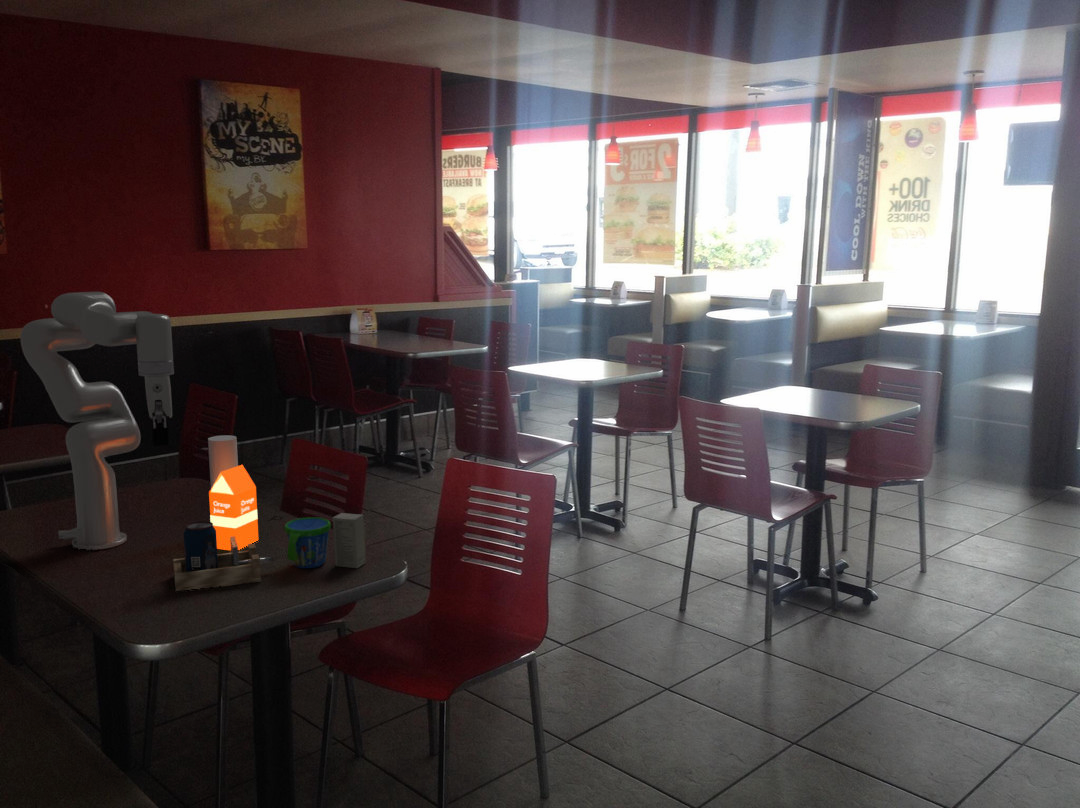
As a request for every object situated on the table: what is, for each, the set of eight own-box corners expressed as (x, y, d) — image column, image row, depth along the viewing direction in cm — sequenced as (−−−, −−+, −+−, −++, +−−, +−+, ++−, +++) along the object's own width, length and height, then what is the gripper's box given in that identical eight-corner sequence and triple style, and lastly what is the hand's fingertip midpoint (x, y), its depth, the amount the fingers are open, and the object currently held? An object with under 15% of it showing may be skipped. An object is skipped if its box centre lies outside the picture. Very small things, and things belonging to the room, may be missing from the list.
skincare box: (366, 563, 222) (365, 514, 220) (357, 569, 218) (355, 519, 216) (343, 560, 225) (341, 511, 222) (333, 566, 220) (332, 516, 218)
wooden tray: (175, 592, 203) (174, 568, 202) (174, 575, 214) (173, 552, 213) (260, 581, 210) (259, 558, 209) (255, 565, 220) (254, 543, 220)
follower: (234, 577, 209) (233, 547, 208) (231, 565, 217) (230, 536, 216) (275, 571, 213) (274, 542, 211) (271, 560, 220) (270, 532, 219)
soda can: (193, 570, 214) (190, 520, 212) (223, 570, 214) (220, 520, 212) (181, 580, 208) (177, 529, 206) (211, 581, 207) (208, 529, 205)
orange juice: (211, 548, 233) (207, 470, 230) (234, 537, 241) (230, 463, 238) (237, 551, 231) (233, 473, 227) (259, 541, 239) (255, 465, 235)
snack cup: (308, 578, 213) (306, 535, 211) (270, 571, 216) (268, 530, 215) (346, 557, 227) (345, 516, 225) (310, 551, 231) (308, 512, 229)
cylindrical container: (236, 533, 245) (231, 441, 240) (209, 533, 245) (203, 440, 241) (245, 525, 252) (240, 435, 247) (219, 525, 252) (213, 435, 248)
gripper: (174, 372, 206) (179, 447, 209) (172, 362, 222) (177, 432, 225) (138, 373, 203) (143, 449, 206) (138, 364, 219) (143, 435, 222)
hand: (160, 440), depth 216 cm, fingers open, 9 cm apart
